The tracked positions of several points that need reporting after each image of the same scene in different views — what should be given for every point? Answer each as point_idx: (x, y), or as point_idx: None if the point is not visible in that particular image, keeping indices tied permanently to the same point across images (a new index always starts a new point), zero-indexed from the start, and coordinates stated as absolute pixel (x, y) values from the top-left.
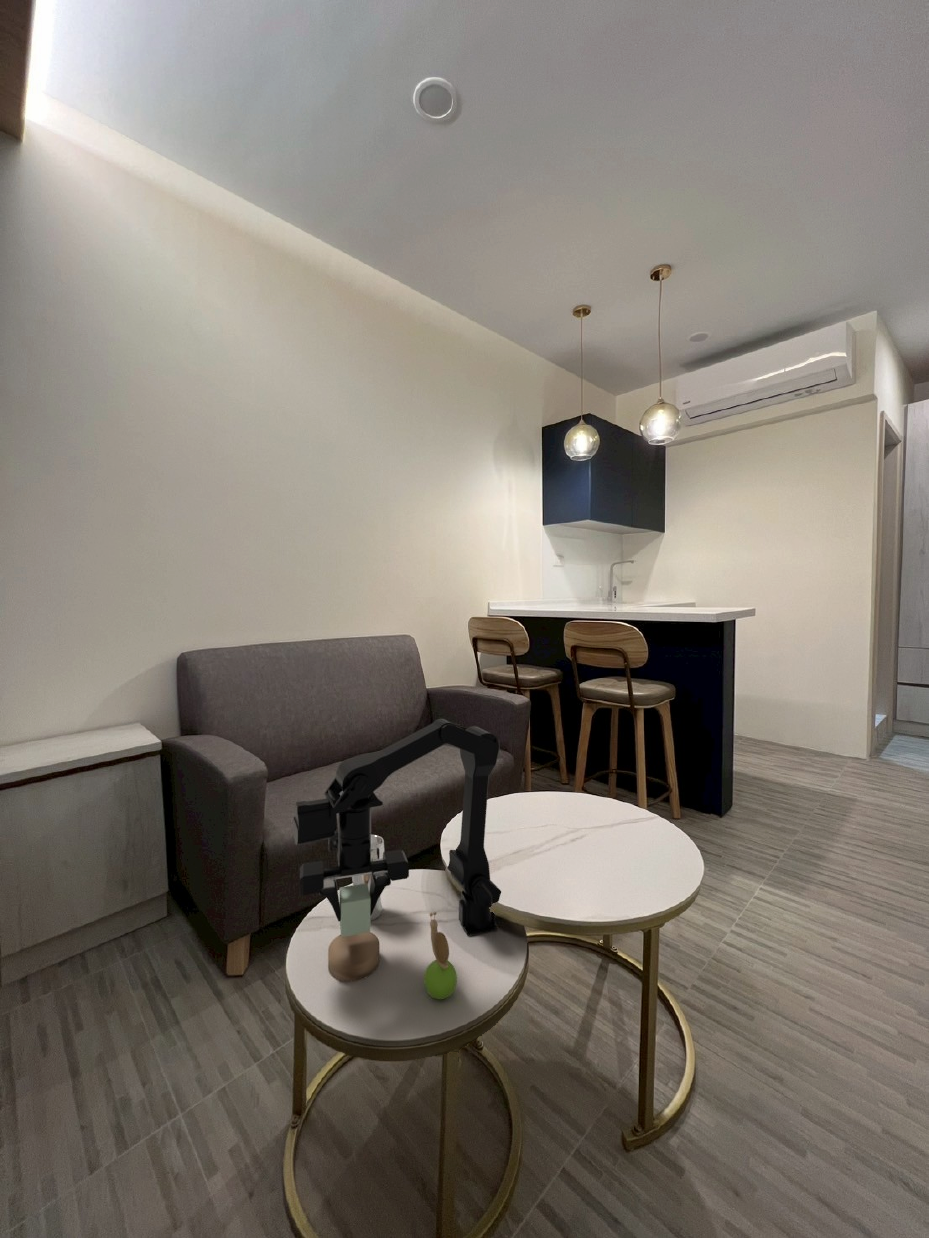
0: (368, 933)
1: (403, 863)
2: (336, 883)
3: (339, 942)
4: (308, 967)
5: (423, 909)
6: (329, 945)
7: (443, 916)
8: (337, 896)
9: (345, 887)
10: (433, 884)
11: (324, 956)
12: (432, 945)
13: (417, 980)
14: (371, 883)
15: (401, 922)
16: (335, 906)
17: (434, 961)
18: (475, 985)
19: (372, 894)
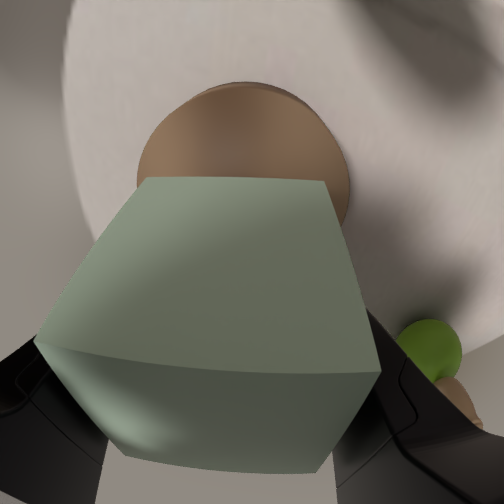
0: (317, 136)
1: None
2: (18, 462)
3: (179, 158)
4: (99, 154)
5: None
6: (139, 165)
7: None
8: (94, 495)
9: (94, 365)
10: None
11: (142, 113)
12: (445, 393)
13: (398, 288)
14: (377, 478)
15: (457, 32)
16: None
17: (431, 376)
18: (476, 322)
19: (337, 476)
